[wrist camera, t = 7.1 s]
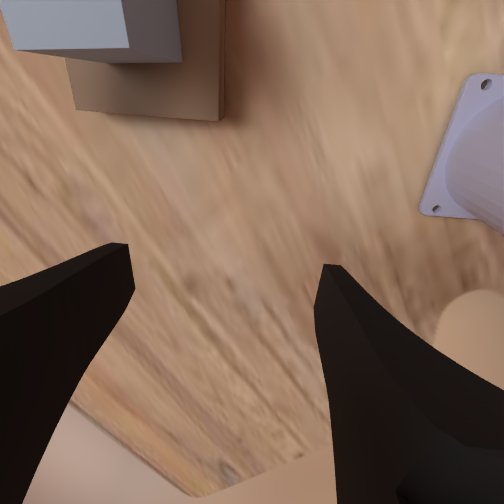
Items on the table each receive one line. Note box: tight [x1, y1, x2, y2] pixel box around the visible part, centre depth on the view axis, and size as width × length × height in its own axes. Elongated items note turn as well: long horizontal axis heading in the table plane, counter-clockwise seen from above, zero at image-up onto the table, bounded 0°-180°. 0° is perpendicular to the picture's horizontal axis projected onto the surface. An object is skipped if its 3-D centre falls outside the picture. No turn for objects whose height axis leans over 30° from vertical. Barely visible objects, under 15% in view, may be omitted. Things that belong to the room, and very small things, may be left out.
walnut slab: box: [65, 0, 226, 121], centre depth 15 cm, size 8×8×2 cm
